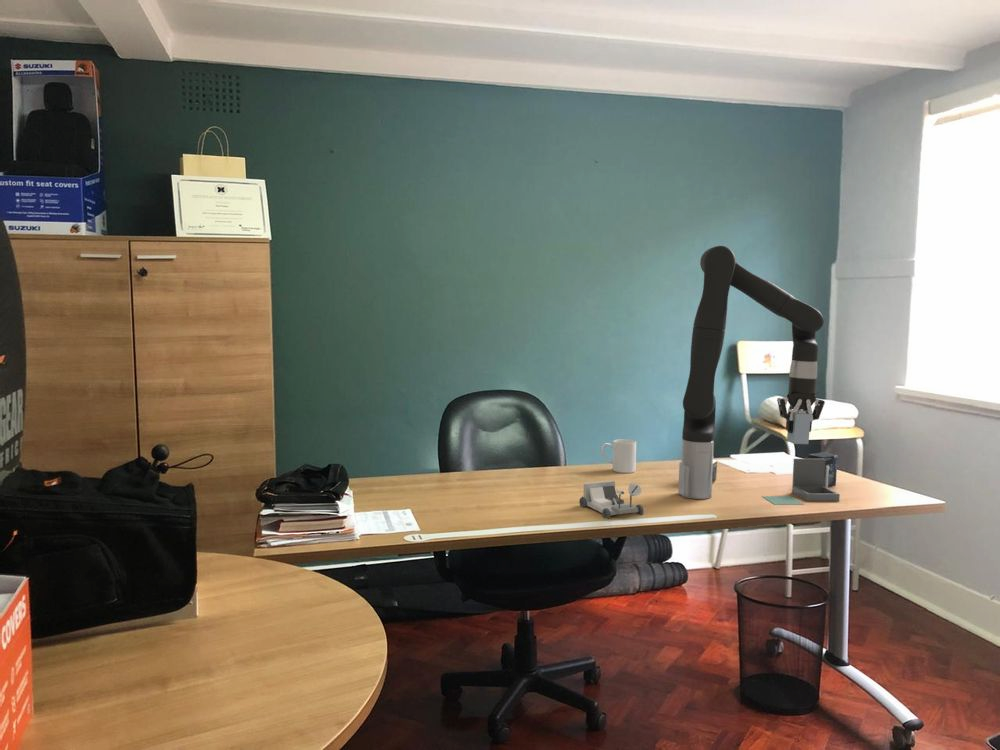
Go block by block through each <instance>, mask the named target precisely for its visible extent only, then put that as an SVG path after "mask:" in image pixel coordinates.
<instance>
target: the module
mask: <svg viewBox="0 0 1000 750" xmlns="http://www.w3.org/2000/svg"><path fill="white" fill-rule="evenodd" d="M810 420H811V414H808V413H806V411H803V410H798V411H797V413H795V414H794V419H793V421H794V424H793V433H788V432H787V433H786V441H787V442H789V443H791V444H793V445H809V440H810V433H811V432H810Z"/></svg>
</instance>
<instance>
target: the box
mask: <svg viewBox="0 0 1000 750" xmlns="http://www.w3.org/2000/svg"><path fill="white" fill-rule="evenodd" d="M807 459H825V474H824V487H825V476H826V466H829V473H828V488H830V487H835V486H837V474H838V473H837V472H838V471H837V470H838V454H833V453H829V452H824V451H822V452H816V453H809V454H808V457H807Z"/></svg>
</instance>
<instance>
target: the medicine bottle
mask: <svg viewBox="0 0 1000 750" xmlns="http://www.w3.org/2000/svg"><path fill="white" fill-rule="evenodd" d="M714 453H715V448H714V447H713V457H714V455H715V454H714ZM717 467H718V460H717V459H713V470H712V485H713V484H714V483H715V482H716V481H717V470H718V468H717Z"/></svg>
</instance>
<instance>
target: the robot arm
mask: <svg viewBox="0 0 1000 750" xmlns="http://www.w3.org/2000/svg"><path fill="white" fill-rule="evenodd" d="M699 263H700V264H699V265H700V268H701V270H702V271H701V272H702V273H703V274H704V275H703V287H702V288H703V290H702V294H701V298H700V302H699V304H698V306H697V311H696V314H695V317H694V321H693V325H692V333H691V343H690V344H691V345H690V360H689V361H690V363H689V364H690V366H689V375H688V380H687V384H686V389H685V391H684V392H685V393H684V397H683V398H682V399H683V400H682V407H683V414H684V415H683V428H682V436H681V437H682V438H681V440H682V441H681V461H680V462H679V465H678V494H679V495H681V497H682V498H687V499H696V500H706V499H710V498H712V494H713V493H712V492H713V488H712V487H713V484H712V470H713V460H714V456H713V448H714V447H715V446H714V445H715V442H714V439H715V429H716V428H715V427H716V425H715V424H716V409H717V408H716V407H717V402H716V401H717V400H716V396H715V378H716V372H717V368H718V365H719V362H720V360H721V359H720V358H721V355H722V351H723V347H724V340H725V335H726V334H725V333H726V326H727V314H728V302H729V301H728V300H729V299H728V298H729V292H730V288H731V287H733V288H734V289H737V290H738V291H740V292H742V293H743V294H745V295H746V296H747V297H749V298H750V299H752V300H753V301H755V302H756V303H758V305H760V306H762V307H764V308H765V309H767V310H768V311H770V312H771V313H773V314H774V315H776V316H777V317H780V318H783V319H786V320H787V321H788V322H790V323H791V333H792V334H791V335H792V352H791V353H792V354H791V362H790V367H789V371H788V372H789V374H788V375H789V377H788V378H789V379H788V393H787V395H786V396H785V397H778V398H777V400H776V401H777V406H778V411H779V416H780V417H781V418H783V419H784V420H785V421H786V422H785V431H787V433H793V424H794V421H793V419H794V414H795V413H797V411H798V410H803V411H806V413H808V414H811V420H810V432H809V433H811V432H812V423H813V421H815V420H819V419H820V417H821V415H822V411H823V408H824V406H825V402H826V401H825V400H823V399H819V398H817V396H816V391H817V380H818V360H819V359H818V357H819V345H818V343H817V341H816V334H817V333H816V332H818V331H819V330H821V329H822V328H823V326H824V322H825V321H824V320H825V319H824V316H823V314H822V313H821V312H820V311H819V310H818V309H817V308H815V307H813V306H812V305H809V304H808V303H805V302H804V301H801V300H800V299H798V298H796V297H794V296H793V295H792V294H791V293H789V292H787V291H786V290H784V289H783V288H780V287H779V286H778V285H776V284H774V283H773V282H771V281H769V280H767V279H765V278H762V277H761V276H759V275H757V274H755V273H753V272H751V271H749V270H748V269H746V268H744V267H743V265H741V264H739V262H737V261H736V255H735V253H734V252H733V251H732V249H730V248H729V247H727V246H724V245H716V246H712V247H710V248H708V249H707V250H705V251H704V253H702V255H701V257H700V262H699ZM787 404H789V406H788V410H787ZM813 404H814V408H813V409H812V406H813Z"/></svg>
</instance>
